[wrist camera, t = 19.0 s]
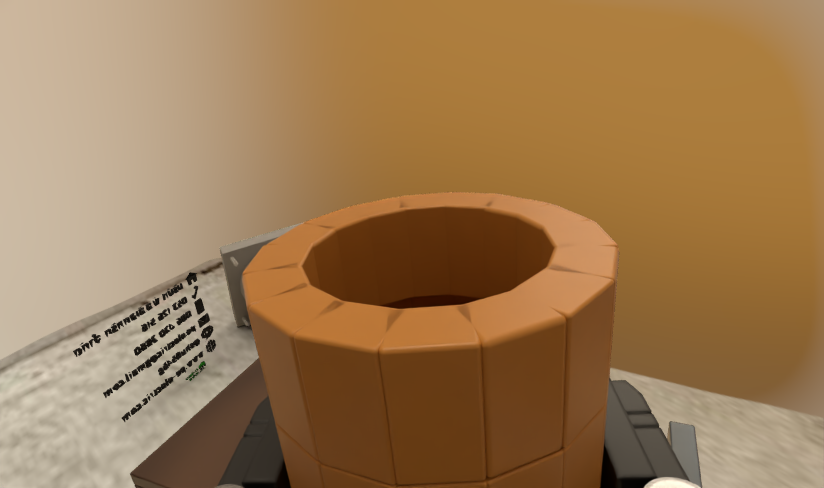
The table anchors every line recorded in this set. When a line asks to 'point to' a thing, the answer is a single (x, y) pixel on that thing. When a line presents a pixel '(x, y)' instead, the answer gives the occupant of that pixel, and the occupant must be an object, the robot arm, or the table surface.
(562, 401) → the jar
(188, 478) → the cabinet
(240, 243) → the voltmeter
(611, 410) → the robot arm
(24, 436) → the table surface
